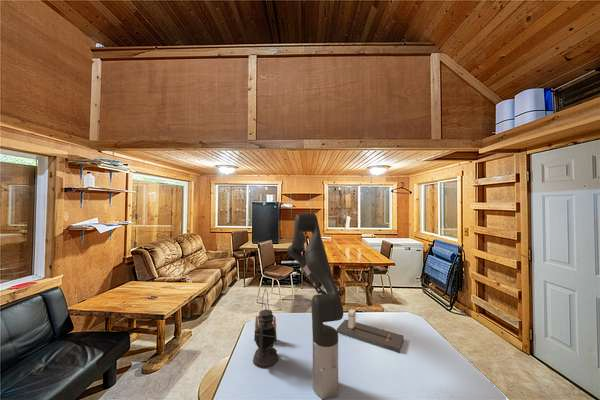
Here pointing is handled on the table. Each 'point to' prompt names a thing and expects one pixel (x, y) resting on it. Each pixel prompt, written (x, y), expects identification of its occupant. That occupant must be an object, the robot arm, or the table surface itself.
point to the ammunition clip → (257, 326)
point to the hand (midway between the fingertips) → (331, 295)
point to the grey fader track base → (373, 336)
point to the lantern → (265, 340)
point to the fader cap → (351, 318)
